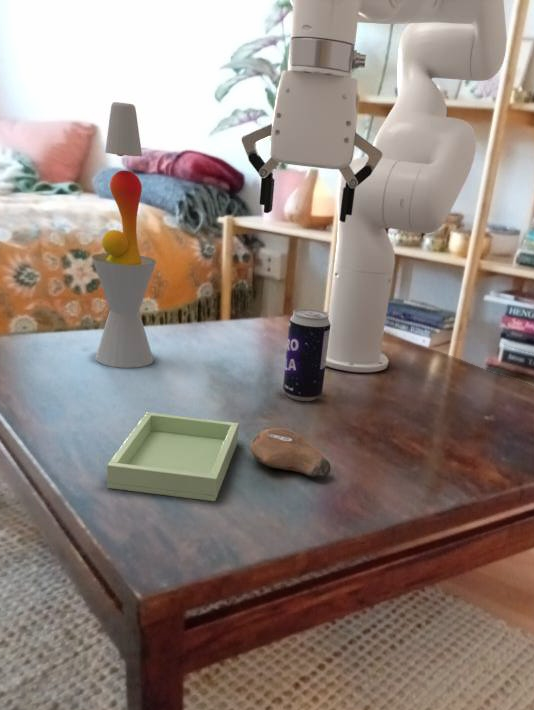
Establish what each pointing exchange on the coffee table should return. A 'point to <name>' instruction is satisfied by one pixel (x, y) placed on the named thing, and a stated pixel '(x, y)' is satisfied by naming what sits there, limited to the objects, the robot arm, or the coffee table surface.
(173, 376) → the coffee table surface
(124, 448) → the tray
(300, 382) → the beverage can
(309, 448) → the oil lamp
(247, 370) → the coffee table surface
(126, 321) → the lava lamp
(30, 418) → the coffee table surface
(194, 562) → the coffee table surface
